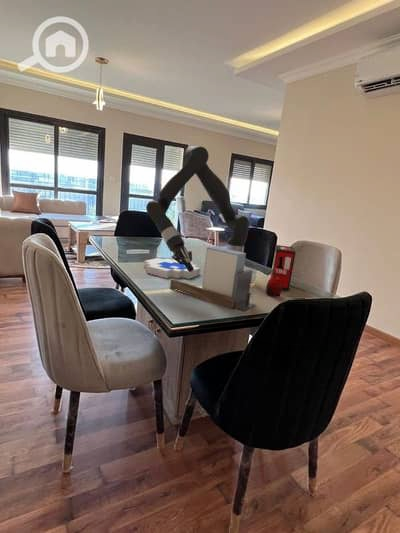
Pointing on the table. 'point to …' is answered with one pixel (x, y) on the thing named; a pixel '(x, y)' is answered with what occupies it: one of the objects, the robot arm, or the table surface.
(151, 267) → the stepped white slab
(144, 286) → the table surface
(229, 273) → the book
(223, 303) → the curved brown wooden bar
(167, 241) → the robot arm
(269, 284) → the red clay folk toy
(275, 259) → the cleaning product box
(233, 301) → the bookend
